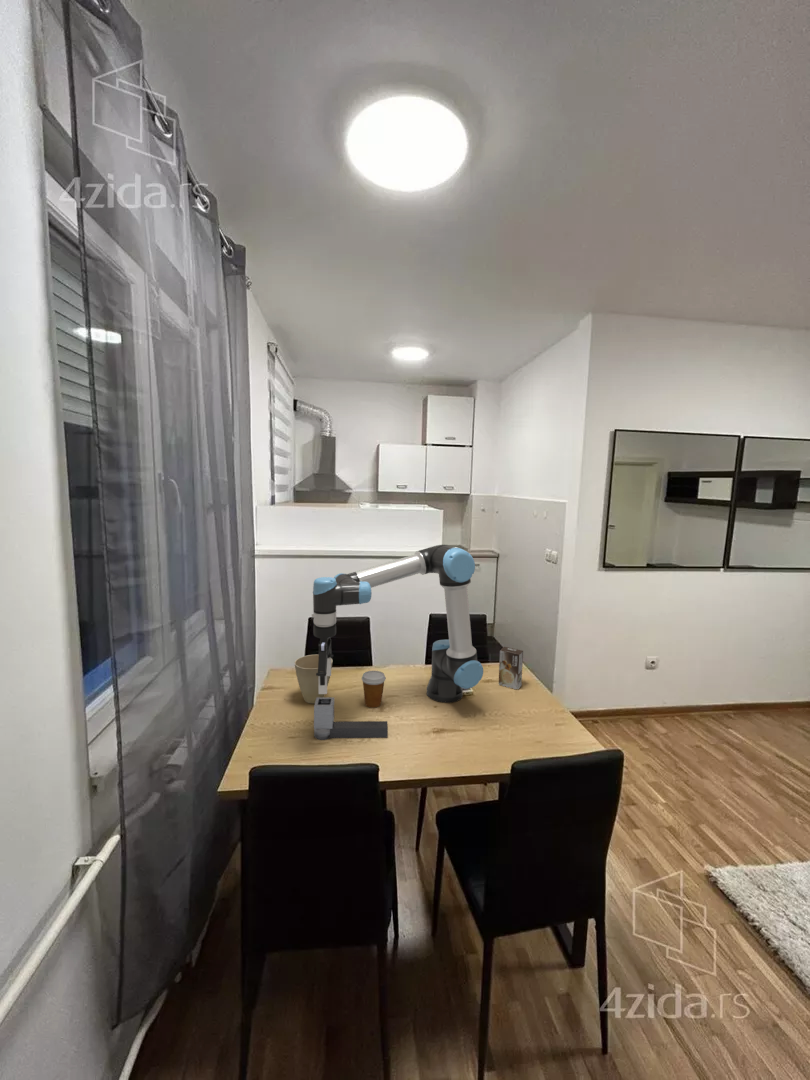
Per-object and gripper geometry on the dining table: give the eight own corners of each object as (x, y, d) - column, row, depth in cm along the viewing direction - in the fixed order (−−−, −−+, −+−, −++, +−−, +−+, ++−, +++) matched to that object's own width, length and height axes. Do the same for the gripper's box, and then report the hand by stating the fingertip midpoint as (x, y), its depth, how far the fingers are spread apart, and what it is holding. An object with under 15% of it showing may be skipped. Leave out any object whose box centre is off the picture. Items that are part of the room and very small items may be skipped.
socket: (334, 719, 154) (334, 697, 153) (332, 728, 147) (332, 706, 147) (316, 719, 153) (316, 697, 152) (313, 728, 147) (314, 706, 146)
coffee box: (522, 685, 195) (524, 650, 194) (517, 690, 190) (520, 654, 188) (502, 680, 200) (504, 646, 198) (497, 685, 195) (499, 650, 193)
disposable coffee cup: (381, 711, 168) (382, 681, 167) (357, 708, 170) (358, 678, 169) (387, 699, 177) (388, 671, 176) (364, 697, 179) (365, 668, 178)
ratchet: (386, 729, 156) (387, 702, 154) (387, 739, 149) (388, 711, 148) (315, 729, 154) (315, 702, 153) (312, 740, 147) (313, 712, 146)
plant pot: (326, 688, 186) (327, 652, 184) (336, 704, 172) (337, 665, 171) (290, 694, 179) (291, 657, 178) (298, 711, 166) (298, 671, 164)
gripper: (318, 613, 158) (318, 669, 161) (307, 636, 134) (308, 702, 136) (339, 613, 159) (339, 669, 161) (332, 636, 134) (332, 701, 137)
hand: (325, 684), depth 149 cm, fingers open, 13 cm apart
